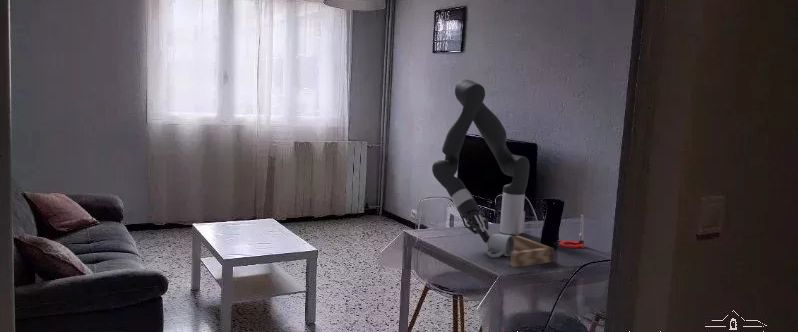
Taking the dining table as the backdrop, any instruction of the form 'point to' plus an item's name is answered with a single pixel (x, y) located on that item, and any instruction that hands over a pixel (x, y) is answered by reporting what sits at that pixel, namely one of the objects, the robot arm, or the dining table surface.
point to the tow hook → (578, 244)
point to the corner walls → (530, 253)
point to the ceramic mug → (500, 245)
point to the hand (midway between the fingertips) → (488, 241)
